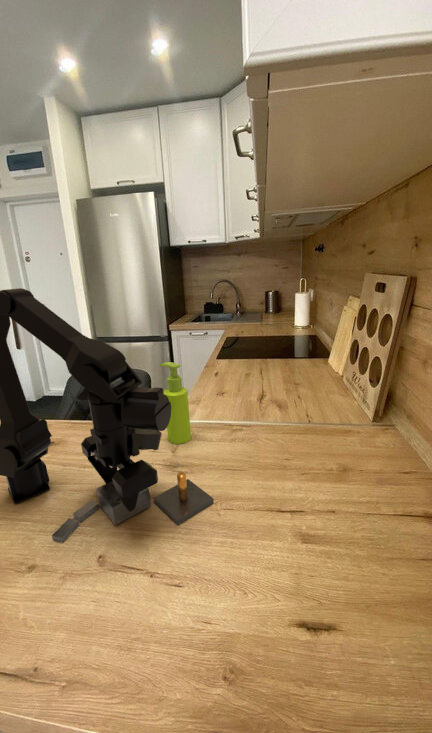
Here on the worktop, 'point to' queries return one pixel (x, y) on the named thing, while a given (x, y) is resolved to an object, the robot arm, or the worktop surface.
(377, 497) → the worktop surface
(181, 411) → the soap dispenser
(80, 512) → the grey topped wooden tile
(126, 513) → the hollow square frame
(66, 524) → the wood sided gray block
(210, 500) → the keeper
